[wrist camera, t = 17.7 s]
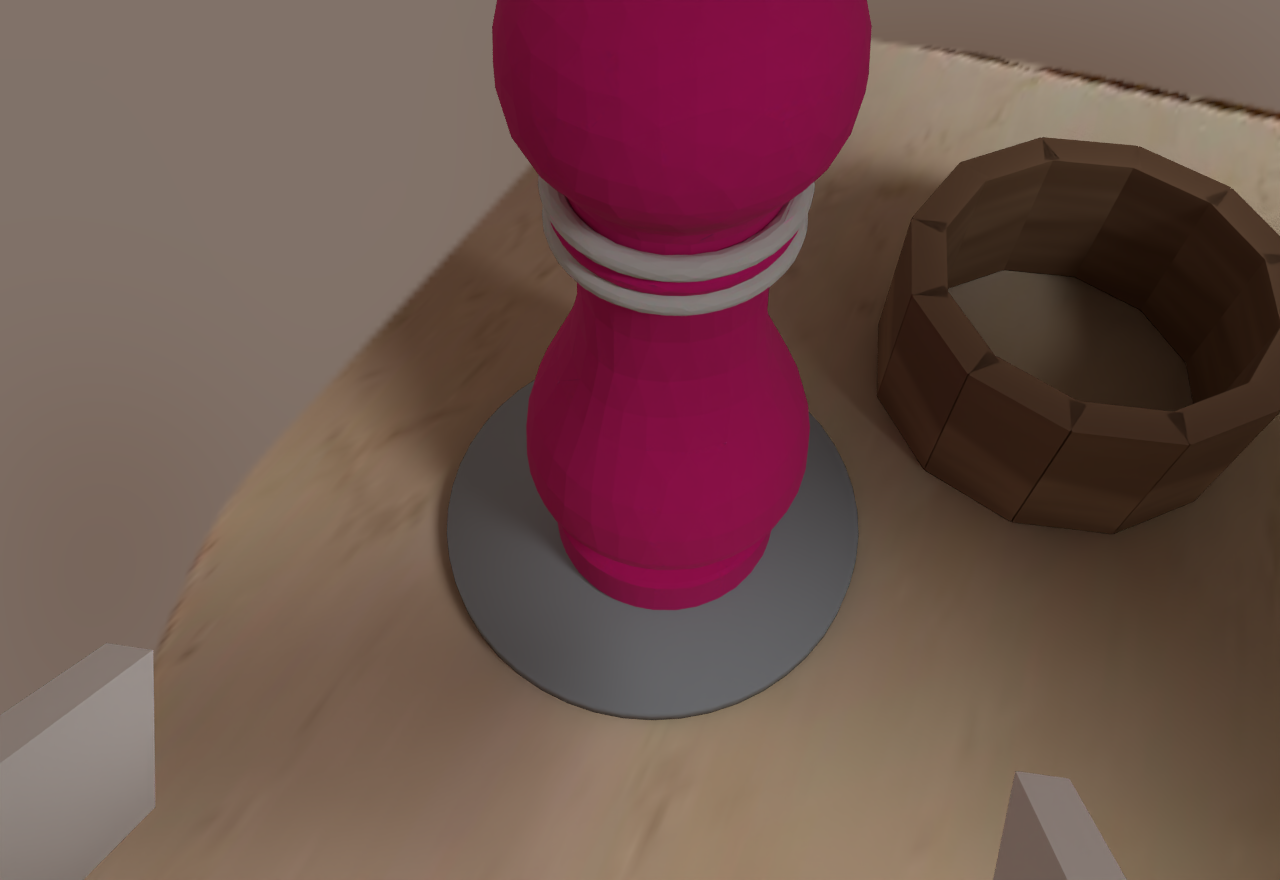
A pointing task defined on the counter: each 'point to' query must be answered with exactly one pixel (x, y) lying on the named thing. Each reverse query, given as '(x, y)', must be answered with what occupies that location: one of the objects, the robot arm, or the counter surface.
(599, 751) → the counter surface
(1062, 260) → the brown wooden bowl
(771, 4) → the pepper mill
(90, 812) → the robot arm
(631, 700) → the coaster
